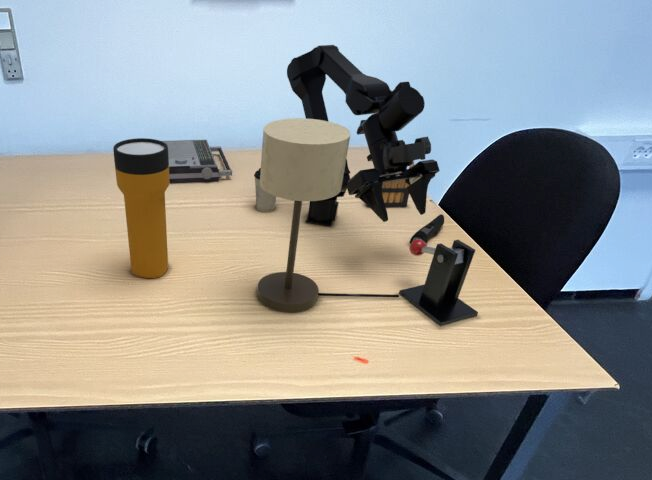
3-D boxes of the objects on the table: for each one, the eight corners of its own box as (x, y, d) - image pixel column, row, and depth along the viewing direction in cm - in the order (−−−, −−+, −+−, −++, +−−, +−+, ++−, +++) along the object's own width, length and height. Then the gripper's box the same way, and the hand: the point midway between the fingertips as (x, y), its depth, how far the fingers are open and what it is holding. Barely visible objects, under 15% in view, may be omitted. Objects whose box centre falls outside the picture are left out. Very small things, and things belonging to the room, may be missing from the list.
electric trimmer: (446, 228, 130) (450, 216, 128) (422, 249, 121) (426, 236, 119) (431, 223, 132) (435, 211, 130) (407, 244, 122) (410, 232, 120)
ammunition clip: (367, 207, 139) (376, 161, 131) (365, 204, 140) (374, 159, 133) (406, 207, 139) (418, 161, 132) (404, 204, 141) (415, 159, 133)
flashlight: (102, 149, 93) (128, 133, 100) (117, 276, 109) (138, 255, 116) (154, 156, 90) (176, 139, 97) (161, 285, 107) (180, 262, 114)
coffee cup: (248, 210, 136) (250, 172, 129) (256, 200, 141) (259, 163, 134) (273, 215, 134) (277, 176, 127) (281, 205, 139) (285, 167, 132)
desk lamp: (253, 315, 99) (265, 143, 79) (250, 277, 110) (261, 117, 90) (408, 318, 99) (459, 147, 79) (390, 279, 110) (431, 120, 90)
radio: (157, 138, 164) (220, 137, 166) (158, 155, 167) (220, 153, 170) (162, 165, 146) (233, 163, 148) (163, 184, 149) (232, 181, 151)
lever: (405, 255, 105) (406, 239, 103) (418, 252, 106) (419, 237, 104) (451, 267, 94) (453, 249, 93) (465, 264, 95) (466, 246, 94)
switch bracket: (398, 295, 105) (414, 236, 97) (433, 286, 108) (451, 229, 100) (439, 327, 97) (460, 266, 89) (476, 317, 100) (500, 257, 91)
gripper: (367, 126, 94) (391, 208, 94) (447, 116, 100) (470, 193, 100) (336, 156, 105) (357, 230, 104) (410, 146, 111) (431, 216, 110)
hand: (404, 217), depth 104 cm, fingers open, 9 cm apart
